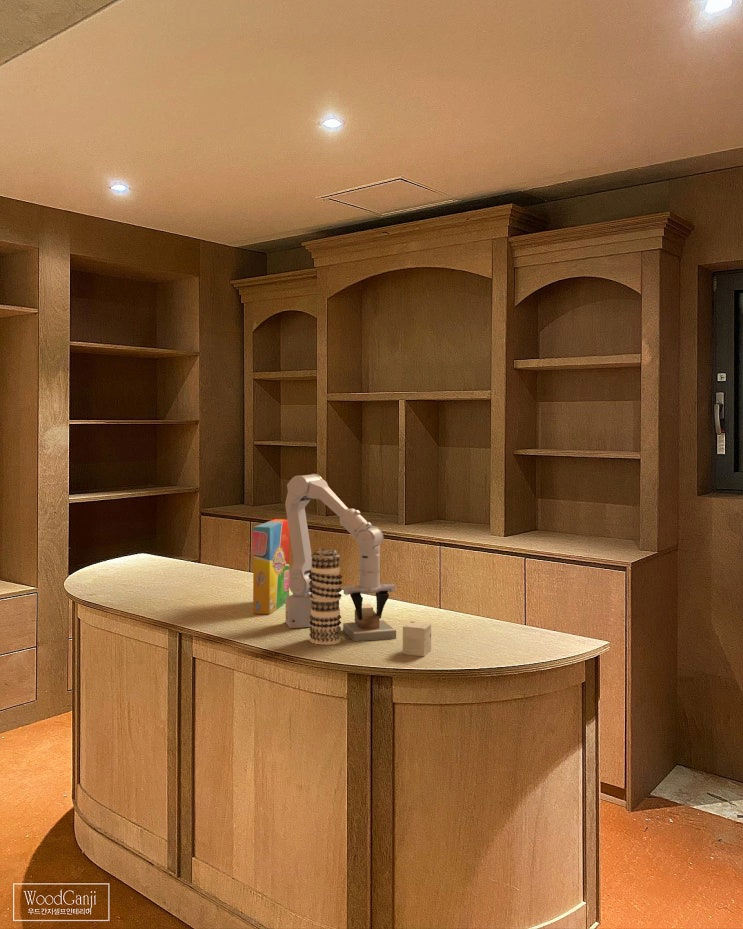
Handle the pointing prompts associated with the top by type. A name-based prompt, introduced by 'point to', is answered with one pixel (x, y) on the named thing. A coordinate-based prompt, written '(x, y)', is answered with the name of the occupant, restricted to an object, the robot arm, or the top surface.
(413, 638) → the skincare box
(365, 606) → the beige block
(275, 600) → the game box
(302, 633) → the top surface
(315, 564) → the decorative candle
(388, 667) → the top surface
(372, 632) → the dock
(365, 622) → the brown wooden tray
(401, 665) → the top surface
